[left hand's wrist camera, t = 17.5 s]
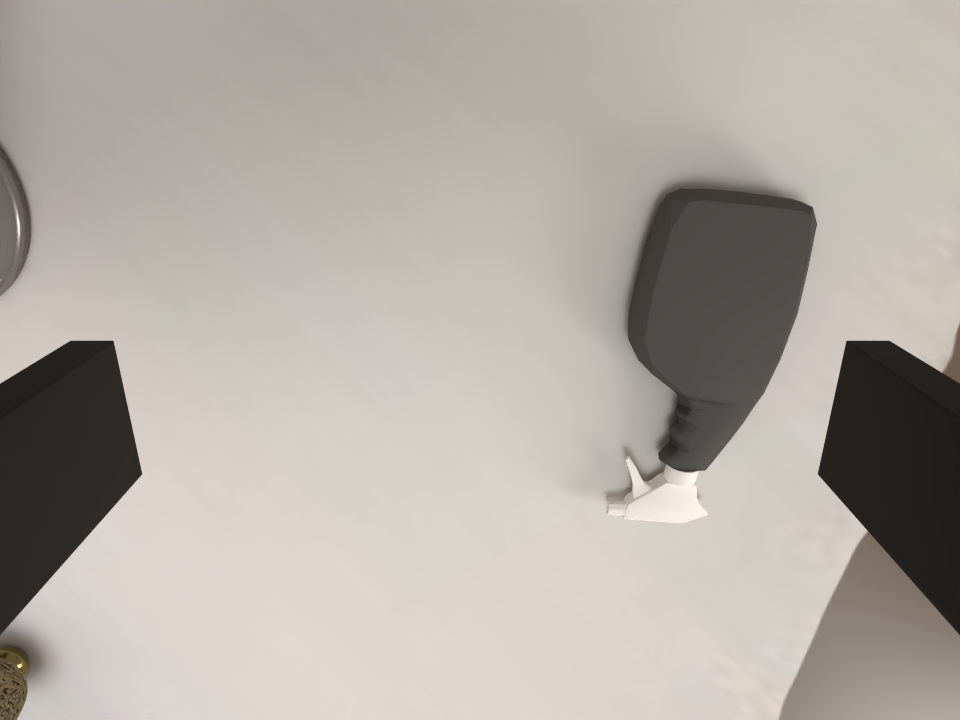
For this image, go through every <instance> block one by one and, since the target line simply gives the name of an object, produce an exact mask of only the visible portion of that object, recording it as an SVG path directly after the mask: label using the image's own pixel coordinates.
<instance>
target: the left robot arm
mask: <svg viewBox="0 0 960 720" xmlns="http://www.w3.org/2000/svg"><path fill="white" fill-rule="evenodd" d="M29 233H30V229H29V215H28V209H27V204H26V200H25V196H24V193H23V190H22V187H21V184H20V182H19V180H18V177H17V175H16V173H15V171H14V169H13V167H12V165H11V163H10V162H9V160H8V158H7V157H6V155H5V154H4V152H3V151H2V149H1V148H0V295H1V294H3V293H4V292H5V291H6V290H7V289H8V288H9V287H10V285H11V284H12V283H13V282H14V280H15V279H16V277H17V276H18V274H19V272H20V270H21V268H22V266H23V264H24V261H25V258H26V254H27V250H28V245H29ZM141 475H142V471H141V466H140V462H139V457H138V453H137V448H136V443H135V439H134V434H133V429H132V425H131V420H130V415H129V411H128V406H127V401H126V397H125V392H124V388H123V383H122V378H121V374H120V369H119V364H118V360H117V355H116V350H115V346H114V341H70V342H68V343H66V344H65V345H63V346H61V347H60V348H58V349H56V350H55V351H53V352H52V353H50V354H48V355H47V356H45V357H43V358H42V359H40V360H38V361H37V362H35V363H33V364H32V365H30V366H29V367H27V368H25V369H24V370H22V371H20V372H19V373H17V374H15V375H14V376H12V377H10V378H9V379H7V380H6V381H4V382H2V383H1V384H0V635H1V633H2V632H3V631H4V630H5V629H6V628H7V627H8V626H9V624H10V623H11V622H12V621H13V620H14V619H15V618H16V616H17V615H18V614H19V613H20V612H21V611H22V610H23V609H24V607H25V606H26V605H27V604H28V603H29V602H30V601H31V599H32V598H33V597H34V596H35V595H36V594H37V593H38V592H39V590H40V589H41V588H42V587H43V586H44V585H45V584H46V583H47V581H48V580H49V579H50V578H51V577H52V576H53V575H54V573H55V572H56V571H57V570H58V569H59V568H60V567H61V566H62V564H63V563H64V562H65V561H66V560H67V559H68V558H69V556H70V555H71V554H72V553H73V552H74V551H75V550H76V549H77V547H78V546H79V545H80V544H81V543H82V542H83V541H84V539H85V538H86V537H87V536H88V535H89V534H90V533H91V532H92V530H93V529H94V528H95V527H96V526H97V525H98V524H99V522H100V521H101V520H102V519H103V518H104V517H105V516H106V515H107V513H108V512H109V511H110V510H111V509H112V508H113V507H114V505H115V504H116V503H117V502H118V501H119V500H120V499H121V498H122V496H123V495H124V494H125V493H126V492H127V491H128V490H129V488H130V487H131V486H132V485H133V484H134V483H135V482H136V481H137V479H138V478H139V477H140V476H141ZM818 475H819V476H820V477H821V478H822V479H823V481H824V482H825V483H826V484H827V485H828V486H829V487H830V488H831V490H832V491H833V492H834V493H835V494H836V495H837V496H838V498H839V499H840V500H841V501H842V502H843V503H844V504H845V505H846V507H847V508H848V509H849V510H850V511H851V512H852V513H853V515H854V516H855V517H856V518H857V519H858V520H859V521H860V522H861V524H862V525H863V526H864V527H865V528H866V529H867V530H868V532H869V533H870V534H871V535H872V536H873V537H874V538H875V539H876V541H877V542H878V543H879V544H880V545H881V546H882V547H883V549H884V550H885V551H886V552H887V553H888V554H889V555H890V556H891V558H892V559H893V560H894V561H895V562H896V563H897V564H898V566H899V567H900V568H901V569H902V570H903V571H904V572H905V573H906V575H907V576H908V577H909V578H910V579H911V580H912V581H913V583H914V584H915V585H916V586H917V587H918V588H919V589H920V590H921V592H922V593H923V594H924V595H925V596H926V597H927V598H928V599H929V601H930V602H931V603H932V604H933V605H934V606H935V607H936V608H937V610H938V611H939V612H940V613H941V614H942V615H943V616H944V618H945V619H946V620H947V621H948V622H949V623H950V624H951V626H952V627H953V628H954V629H955V630H956V631H957V632H958V633H959V635H960V384H959V383H958V382H956V381H954V380H953V379H951V378H949V377H948V376H946V375H945V374H943V373H941V372H940V371H938V370H936V369H935V368H933V367H931V366H930V365H928V364H927V363H925V362H923V361H922V360H920V359H918V358H917V357H915V356H913V355H912V354H910V353H908V352H907V351H905V350H904V349H902V348H900V347H899V346H897V345H895V344H894V343H892V342H890V341H846V346H845V350H844V355H843V360H842V364H841V369H840V374H839V378H838V383H837V388H836V392H835V397H834V401H833V406H832V411H831V415H830V420H829V425H828V429H827V434H826V439H825V443H824V448H823V453H822V457H821V462H820V466H819V471H818Z"/></svg>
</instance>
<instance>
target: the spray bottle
mask: <svg viewBox="0 0 960 720" xmlns="http://www.w3.org/2000/svg"><path fill="white" fill-rule="evenodd" d="M816 226H817V222H816V218H815V214H814V210H813V207H811V206H809V205H807V204H805V203H802V202H800V201H797V200H793V199H788V198H780V197H771V196H763V195H755V194H747V193H739V192H730V191H722V190H703V189H680V190H677V191H675V192H673V193H670V194H669V195H668V196H667V197H666V198H665V200H664V201H663V203H662V204H661V206H660V207H659V209H658V212H657V215H656V218H655V220H654V223H653V226H652V229H651V232H650V235H649V237H648V240H647V243H646V246H645V250H644V254H643V258H642V262H641V266H640V270H639V274H638V278H637V282H636V286H635V290H634V294H633V298H632V303H631V307H630V314H629V325H628V336H629V341H630V343H631V345H632V347H633V350H634V352H635V354H636V356H637V358H638V360H639V361H640V362H641V363H642V364H643V365H644V366H645V367H646V368H647V369H648V370H649V371H650V372H651V373H652V374H653V375H654V376H656V377H657V378H658V379H659V380H661V381H662V382H663V383H665V384H666V385H667V386H668V387H670V388H671V389H672V390H674V391H675V392H676V393H677V395H678V398H679V400H680V402H679V404H678V406H677V407H676V409H675V412H676V417H677V419H676V420H675V421H674V423H673V424H672V426H671V427H670V429H669V430H670V437H671V441H670V442H669V443H668V444H667V445H666V446H665V447H664V448H663V449H662V450H661V451H660V452H659V459H660V460H661V461H662V462H664V463H665V464H666V466H665V470H664V473H660V474H658V475H657V476H656V477H654V478H653V479H651V480H650V481H648V482H646V481H644V480H643V479H642V477H641V475H640V474H639V472H638V470H637V468H636V466H635V464H634V463H633V461H632V460H631V459H630V457H629V456H626V457H625V459H626V463H627V466H628V469H629V472H630V476H631V479H632V492H630V493H628V494H627V495H626V496H625V498H624V501H608V502H607V504H606V512H607V515H618V516H623V518H624V519H631V520H645V521H658V522H672V523H685V522H688V521H691V520H694V519H697V518H700V517H703V516H706V515H707V511H706V509H705V507H704V505H703V504H702V503H701V502H700V501H699V500H698V499H697V486H696V484H695V481H696V478H697V474H698V471H702V470H706V469H707V468H708V467H709V465H710V464H711V463H712V462H713V461H714V459H715V458H716V457H717V456H718V454H719V453H720V452H721V451H722V449H723V448H724V447H725V446H726V444H727V443H728V442H729V441H730V439H731V438H732V437H733V436H734V434H735V433H736V432H737V430H738V429H739V428H740V426H741V425H742V424H743V423H744V421H745V419H746V418H747V416H748V415H749V413H750V412H751V410H752V409H753V407H754V406H755V404H756V403H757V402H758V400H759V399H760V398H761V396H762V395H763V394H764V392H765V390H766V388H767V386H768V384H769V382H770V379H771V377H772V375H773V373H774V371H775V369H776V367H777V365H778V363H779V361H780V359H781V356H782V354H783V351H784V348H785V346H786V343H787V340H788V337H789V335H790V332H791V329H792V327H793V324H794V321H795V319H796V316H797V313H798V309H799V305H800V301H801V296H802V292H803V288H804V284H805V279H806V275H807V271H808V266H809V261H810V256H811V251H812V246H813V241H814V236H815V231H816Z"/></svg>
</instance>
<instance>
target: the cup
mask: <svg viewBox="0 0 960 720" xmlns="http://www.w3.org/2000/svg"><path fill="white" fill-rule="evenodd" d="M29 668H30V662H29V659H28V657H27V656H26V655H25V654H24V653H23V652H22V651H21V650H19V649H17V648H14V647H9V646H2V647H0V720H17V718H18V716H19V714H20V712H21V710H22V708H23V706H24V703H25V700H26V696H27V682H26V679H25V678H26V676H27V675H28V672H29Z"/></svg>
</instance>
